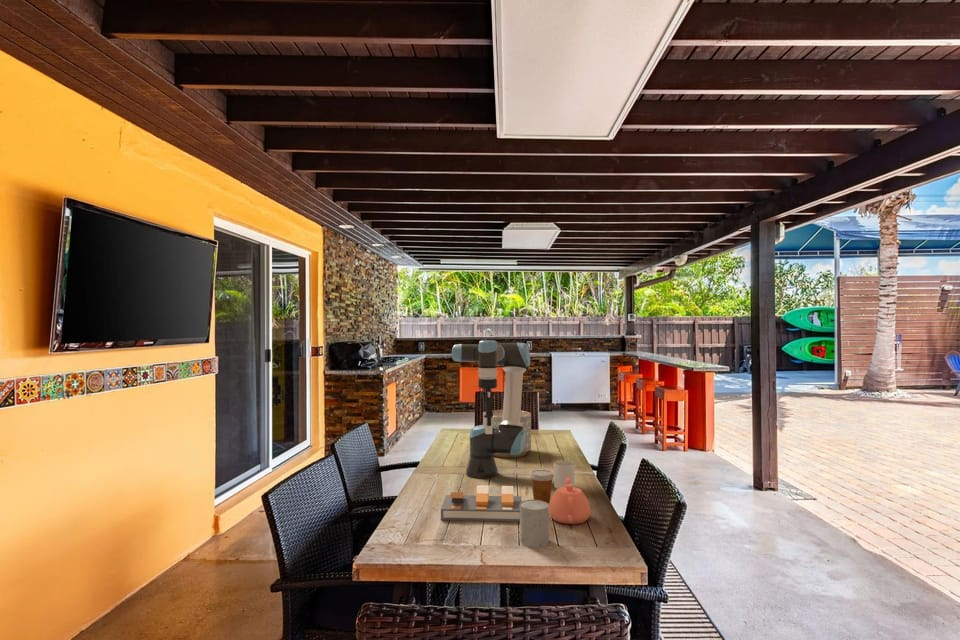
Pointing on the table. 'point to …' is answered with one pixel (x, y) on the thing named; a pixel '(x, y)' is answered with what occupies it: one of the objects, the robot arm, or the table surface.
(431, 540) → the table surface
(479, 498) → the rocker
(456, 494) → the block
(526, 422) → the planter
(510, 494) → the rocker
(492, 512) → the console
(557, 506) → the teapot
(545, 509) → the grey cylinder
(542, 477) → the disposable coffee cup
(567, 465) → the mug
